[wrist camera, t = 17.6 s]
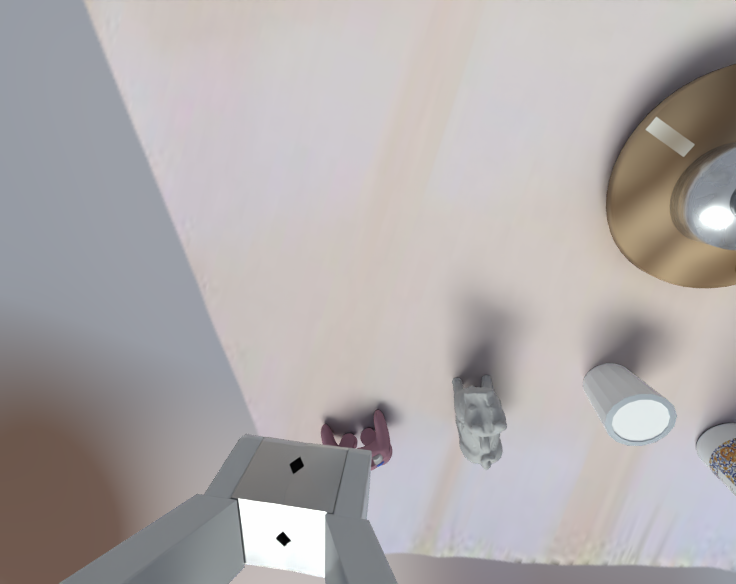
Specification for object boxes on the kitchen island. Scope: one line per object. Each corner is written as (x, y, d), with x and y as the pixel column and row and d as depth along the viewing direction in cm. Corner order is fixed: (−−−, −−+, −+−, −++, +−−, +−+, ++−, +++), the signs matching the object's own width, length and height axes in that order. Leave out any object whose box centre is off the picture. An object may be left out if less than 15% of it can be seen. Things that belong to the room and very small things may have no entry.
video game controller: (333, 434, 54) (333, 483, 49) (318, 423, 51) (316, 474, 46) (392, 418, 51) (398, 469, 46) (380, 405, 48) (385, 458, 43)
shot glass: (604, 349, 42) (638, 383, 35) (650, 375, 42) (693, 414, 36) (565, 389, 44) (591, 427, 38) (609, 414, 45) (642, 456, 38)
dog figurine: (490, 348, 44) (512, 402, 34) (495, 430, 48) (517, 499, 38) (447, 352, 45) (456, 406, 35) (456, 432, 49) (467, 500, 39)
